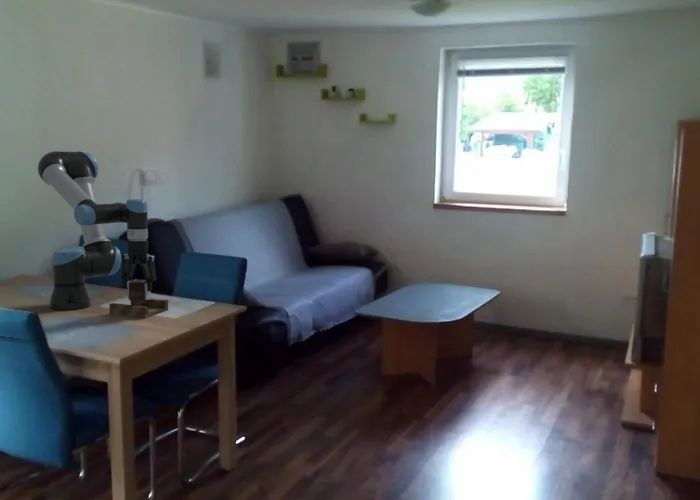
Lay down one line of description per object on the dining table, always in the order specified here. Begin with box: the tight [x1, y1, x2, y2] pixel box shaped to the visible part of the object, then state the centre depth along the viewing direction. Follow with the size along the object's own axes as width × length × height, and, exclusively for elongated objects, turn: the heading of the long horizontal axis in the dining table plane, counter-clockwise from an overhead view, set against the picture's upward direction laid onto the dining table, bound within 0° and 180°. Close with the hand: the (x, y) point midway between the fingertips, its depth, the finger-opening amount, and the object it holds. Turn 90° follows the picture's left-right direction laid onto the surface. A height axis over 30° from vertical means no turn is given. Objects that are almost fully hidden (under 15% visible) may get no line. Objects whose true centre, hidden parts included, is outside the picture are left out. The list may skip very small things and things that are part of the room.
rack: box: [108, 297, 169, 319], centre depth 266 cm, size 16×15×4 cm
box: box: [128, 279, 146, 302], centre depth 265 cm, size 6×6×7 cm
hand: (139, 298), depth 265 cm, fingers closed on box, 7 cm apart
